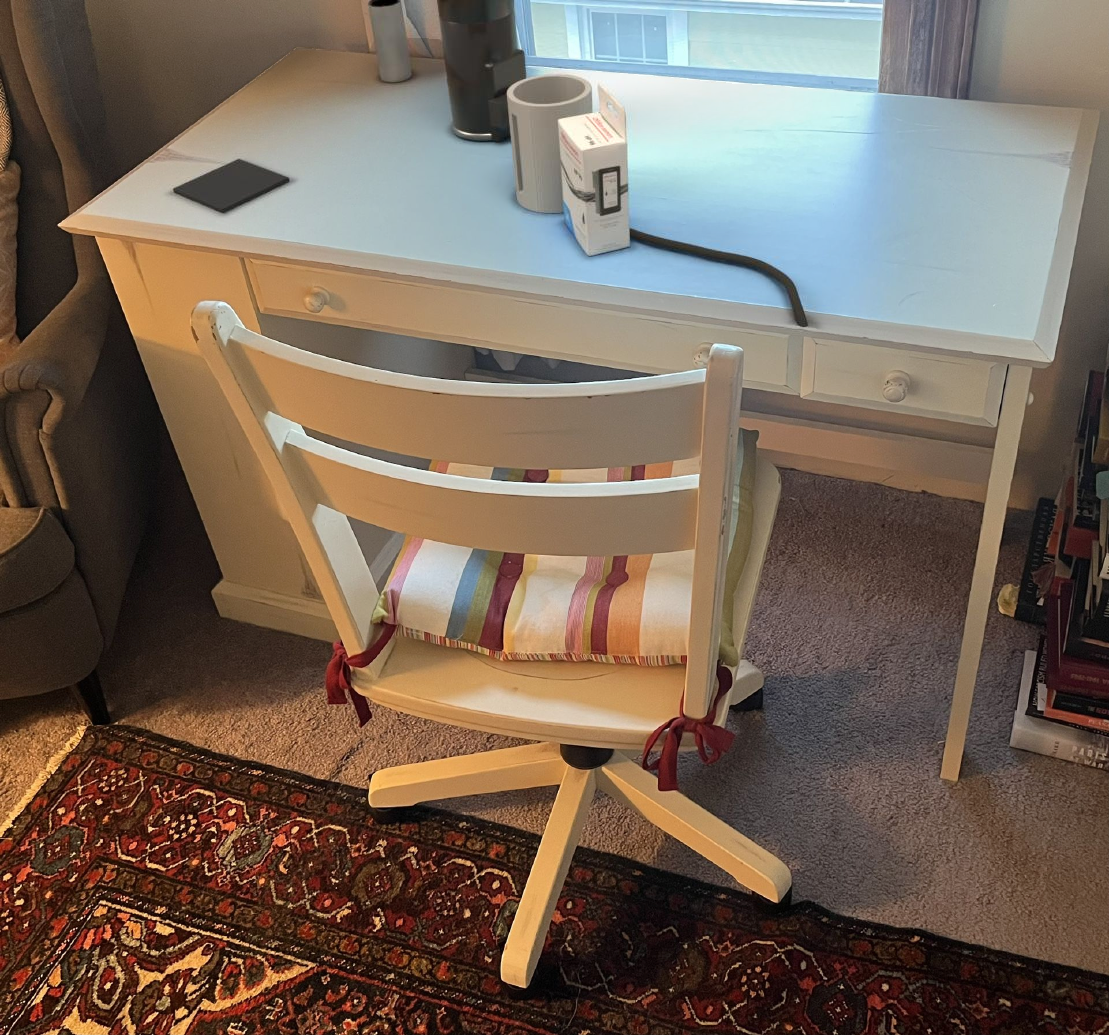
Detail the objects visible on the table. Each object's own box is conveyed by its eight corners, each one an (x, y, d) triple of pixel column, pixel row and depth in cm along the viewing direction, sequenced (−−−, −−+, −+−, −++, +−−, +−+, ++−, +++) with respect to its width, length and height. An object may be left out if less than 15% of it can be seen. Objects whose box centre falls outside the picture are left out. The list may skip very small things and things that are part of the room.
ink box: (562, 223, 120) (553, 89, 110) (604, 214, 121) (599, 80, 111) (587, 258, 114) (580, 119, 104) (632, 248, 114) (629, 109, 105)
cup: (610, 185, 126) (606, 81, 118) (569, 219, 120) (562, 111, 112) (544, 171, 130) (536, 69, 122) (501, 203, 124) (490, 98, 116)
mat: (289, 181, 132) (288, 177, 132) (223, 213, 127) (221, 209, 127) (239, 162, 138) (238, 158, 137) (173, 192, 132) (172, 188, 132)
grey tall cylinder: (404, 83, 154) (392, 7, 147) (375, 81, 155) (362, 5, 148) (417, 72, 157) (406, -4, 150) (388, 70, 158) (376, -5, 151)
